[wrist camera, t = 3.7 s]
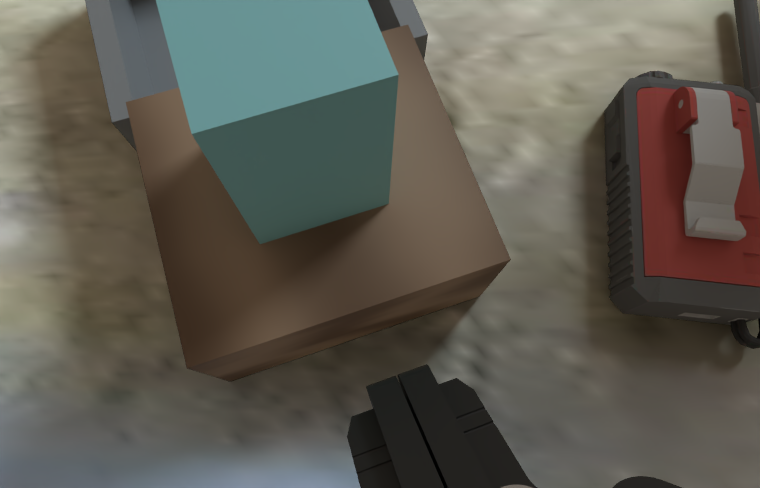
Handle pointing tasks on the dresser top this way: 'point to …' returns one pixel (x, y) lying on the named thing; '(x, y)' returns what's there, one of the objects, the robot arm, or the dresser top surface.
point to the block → (287, 105)
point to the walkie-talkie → (688, 193)
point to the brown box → (315, 239)
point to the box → (152, 57)
